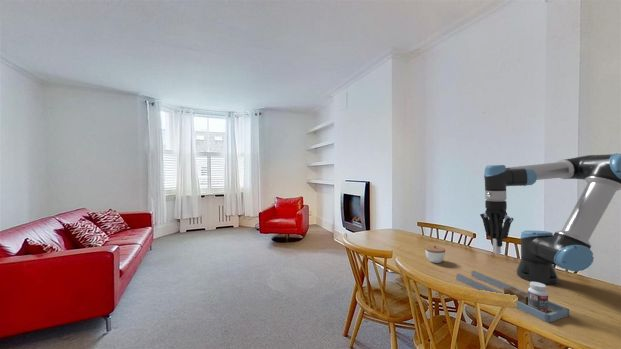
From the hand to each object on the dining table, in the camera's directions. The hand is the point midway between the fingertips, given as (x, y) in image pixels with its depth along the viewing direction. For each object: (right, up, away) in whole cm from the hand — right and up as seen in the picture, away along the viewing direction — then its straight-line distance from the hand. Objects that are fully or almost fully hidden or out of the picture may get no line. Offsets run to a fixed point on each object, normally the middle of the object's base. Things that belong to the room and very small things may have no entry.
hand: (496, 253), depth 110 cm
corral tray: (+4, -17, -12) cm, 22 cm away
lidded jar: (-9, -17, +37) cm, 41 cm away
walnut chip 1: (+2, -17, -6) cm, 18 cm away
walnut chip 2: (+3, -17, -10) cm, 20 cm away
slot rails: (-2, -17, +5) cm, 18 cm away
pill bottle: (+5, -18, -14) cm, 23 cm away
